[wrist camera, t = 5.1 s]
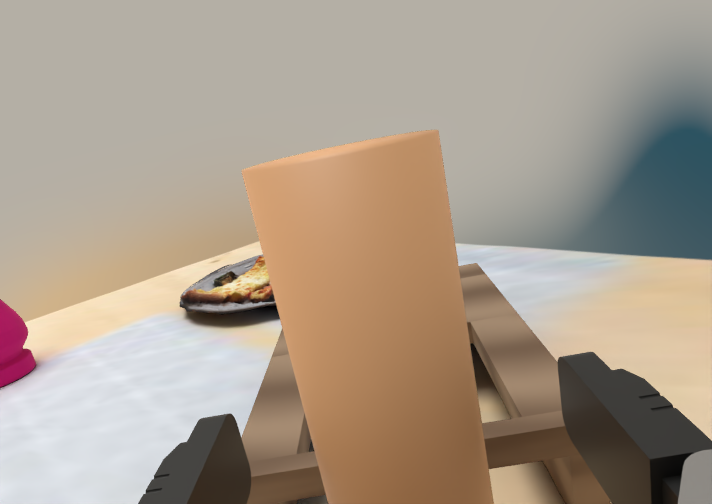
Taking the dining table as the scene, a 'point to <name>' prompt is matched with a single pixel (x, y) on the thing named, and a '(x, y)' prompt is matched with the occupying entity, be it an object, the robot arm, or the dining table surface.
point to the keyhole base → (502, 438)
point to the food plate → (231, 289)
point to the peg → (375, 318)
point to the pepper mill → (13, 347)
